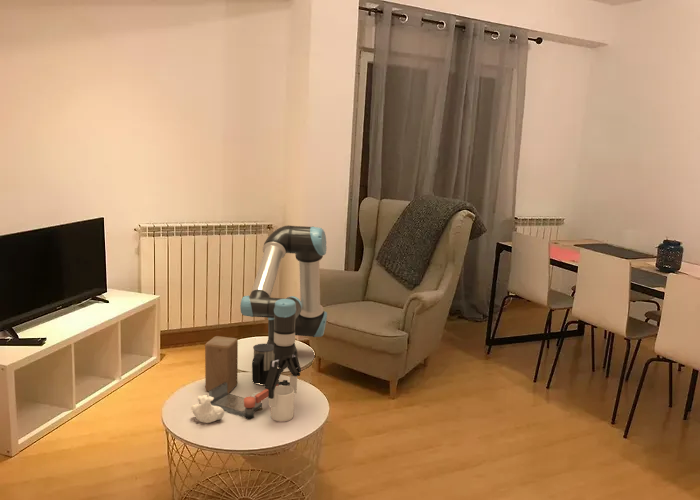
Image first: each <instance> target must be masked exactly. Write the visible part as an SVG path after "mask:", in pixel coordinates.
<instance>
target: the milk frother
mask: <svg viewBox="0 0 700 500" xmlns="http://www.w3.org/2000/svg"><path fill="white" fill-rule="evenodd" d="M274 358H275V354H274V345H272V344H267V343H257V344H255V345H253V359H252V363H251V369H252V370H251V374H252V375H251V376H252V377H251V378H252V379H251V380H253V381H252V383H253V382H254V383H253V384H255V383H260V384H265V383H266V380H267V376H268V372H269V369H270V362H271V360H272V361H274ZM279 386H290V381H289V380H287V379H283V380H282V381H279Z"/></svg>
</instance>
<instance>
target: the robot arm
mask: <svg viewBox="0 0 700 500" xmlns="http://www.w3.org/2000/svg"><path fill="white" fill-rule="evenodd" d="M262 253H263V254H262V256H261V260H260V263H259V266H258V270H257V273H256V276H255V279H254V282H253V286H252V288H251V291H250V293H249V294H250V295H244V296H243V297H242V298H241V300H240V306H239V307H240V313H241V315H242V316H244V317H251V318H267V320H268V322H267V323H268V326H267V327H268V329H267V331H268V332H267V337H268V338H267V342H266V344H272V345H274V354H275V358H274V361H272V360H271V362H270V369H269V372H268V376H267V380H266V383H265V385H264V390H265V389H268V397H267V398H268V406H269V407H271V406H272V407H276V389H275V387H276V385H277V382H278V380H279V381H280V377H281V375H282V373H284V370H285V369H286V368H287V369H288V371H289V372H290V375H289V382H290V385H289V386H290V387H292V388H293V389H294V394H297V393H298V377H300V376H301V373H302V369H301V365H300V361H299V359H298V349H297V346H296V336H300V337H311V338H312V337H313V338H321V337H323V336H324V334H325V329H326V325H327V319H328V312H327V311H325V310H324V307H323V305H321V288H320V287H321V285H320V284H321V283H320V282H321V281H320V280H321V277H320V276H321V275H320V261H321V260H322V259H323V258H324V257H323V256H325V255H326V254H327V237H326V232H325V230H324V229H323V228H322V227H318V226H317V227H316V226H301V225H284V226H283V225H282V226H281V227H278V228H277V229H275V230H274V231H272V233H270V234H269V236H268V237H267V238H266V240H265V241H264V243H263V247H262ZM286 254H294V255H295V259H296V261H297V262H298V263H299V264H298V265H299V287H300V289H299V290H300V298H299V297H296V296H293V295H292V296H288V297H286V298H284V297H283V298H282V297H281V298H280V297H271V296H272V292H273V289H274V286H275V282H276V278H277V276H278V272H279V268H280V266H281V261H282V259H283V258H285V256H286Z"/></svg>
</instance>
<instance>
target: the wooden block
mask: <svg viewBox="0 0 700 500" xmlns="http://www.w3.org/2000/svg"><path fill="white" fill-rule="evenodd" d="M238 340H239V339H238V338H235V337H229V336H228V337H227V336H219V335H216V336H214V337H212V338H211V339H209V340H208V341H207V342H206V343H205V345H204V346H205V348H204V349H205V352H204V354H205V355H204V356H205V357H204V358H205V360H204V361H205V362H204V363H205V366H204V367H205V371H204V372H205V376H204V377H205V383H204V385H205V391H206V392H209V390H211V389H213V388H215V387H217V386H219V385H220V384H222V383H224V382H226V383H227V393H229V394H230V393H231V392H232V390H234V388H235V387H236V386H237V385H238V369H239V367H238V366H239V365H238V361H239V360H238V359H239V358H238V356H239V355H238V346H239V345H238V344H239V343H238Z"/></svg>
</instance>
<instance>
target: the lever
mask: <svg viewBox="0 0 700 500" xmlns="http://www.w3.org/2000/svg"><path fill="white" fill-rule="evenodd" d="M279 382H280V379H279V380H278V382H277V385H276V386H280V385H279ZM243 398H244V407H246V408H253V407H254V408H256V407H258V406H259V405H261V403H262V401H264V400H266V399H267V398H269V397H268V389H265V388H264V389H263V390H262V391H260V392H254V393H252V394H251V395H249V396H246V397H243Z"/></svg>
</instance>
